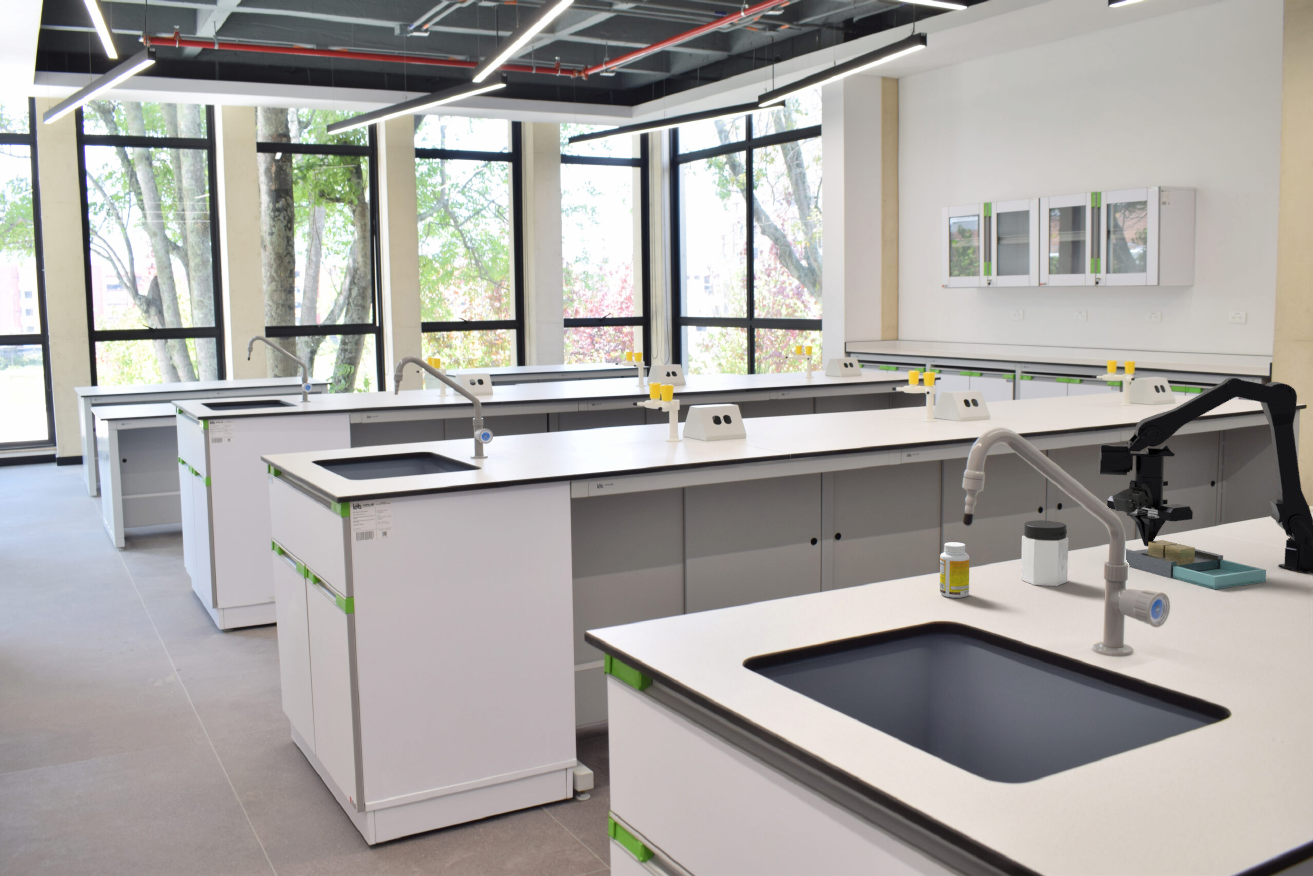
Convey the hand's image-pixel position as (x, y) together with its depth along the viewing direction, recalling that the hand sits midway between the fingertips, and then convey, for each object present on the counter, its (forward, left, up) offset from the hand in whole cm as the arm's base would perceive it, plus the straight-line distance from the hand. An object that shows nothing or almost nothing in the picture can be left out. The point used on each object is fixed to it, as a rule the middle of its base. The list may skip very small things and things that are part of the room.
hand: (1147, 546), depth 230 cm
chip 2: (0, +9, -1) cm, 9 cm away
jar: (+32, +4, -4) cm, 33 cm away
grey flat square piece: (0, +6, -3) cm, 7 cm away
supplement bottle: (+55, +5, -4) cm, 55 cm away
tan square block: (0, +4, -1) cm, 4 cm away
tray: (0, +19, -3) cm, 19 cm away
